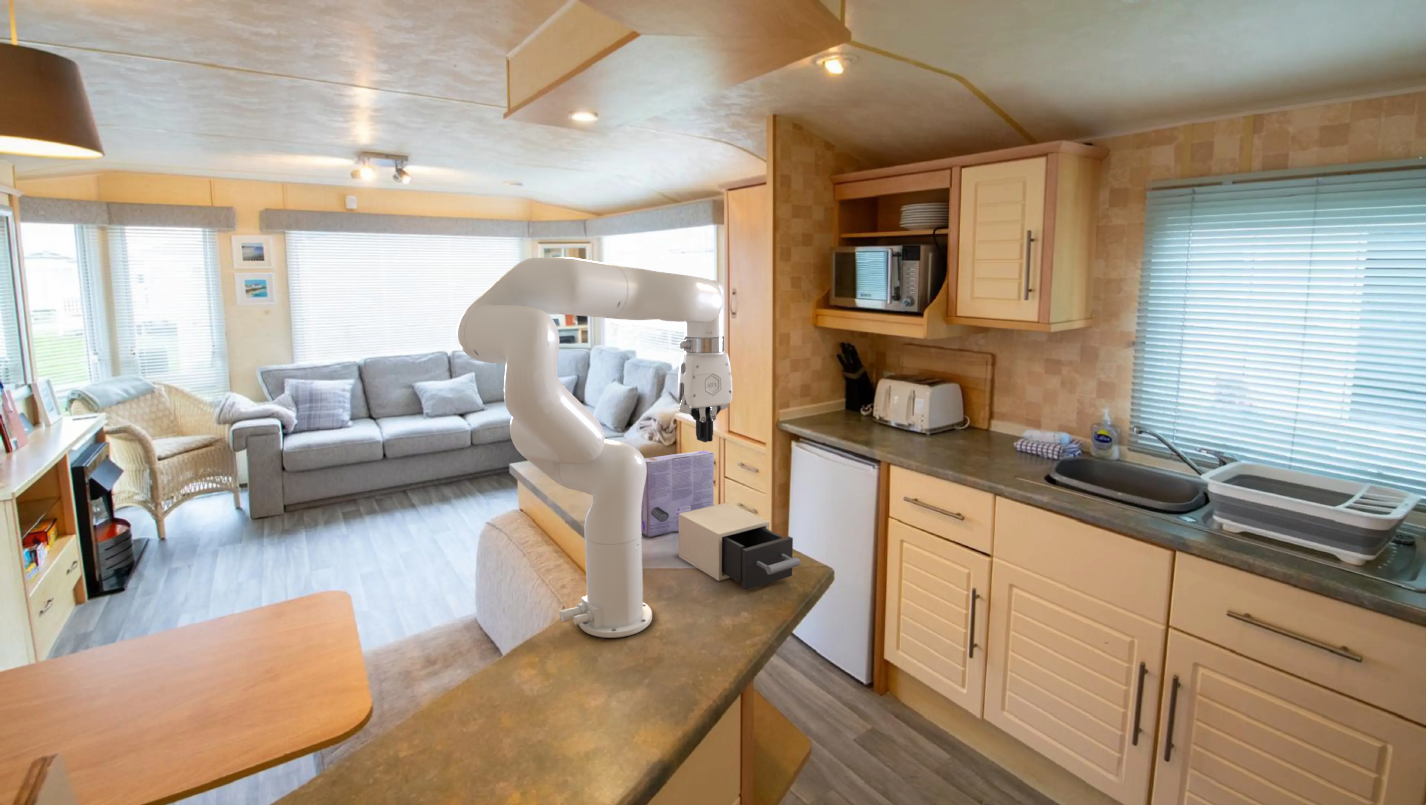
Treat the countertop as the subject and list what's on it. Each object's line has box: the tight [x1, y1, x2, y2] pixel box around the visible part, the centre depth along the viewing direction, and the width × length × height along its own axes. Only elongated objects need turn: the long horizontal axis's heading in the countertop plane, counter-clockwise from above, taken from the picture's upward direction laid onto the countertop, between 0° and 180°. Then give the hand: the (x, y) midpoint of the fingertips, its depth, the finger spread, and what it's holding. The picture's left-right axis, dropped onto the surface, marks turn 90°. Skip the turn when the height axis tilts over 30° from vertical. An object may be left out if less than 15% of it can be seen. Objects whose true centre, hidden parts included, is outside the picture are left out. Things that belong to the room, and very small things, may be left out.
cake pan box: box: [641, 450, 715, 538], centre depth 163 cm, size 19×5×18 cm, turn 123°
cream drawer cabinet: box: [678, 502, 770, 582], centre depth 144 cm, size 15×13×10 cm
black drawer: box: [722, 527, 801, 591], centre depth 135 cm, size 18×11×8 cm, turn 35°
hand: (704, 440), depth 135 cm, fingers closed
